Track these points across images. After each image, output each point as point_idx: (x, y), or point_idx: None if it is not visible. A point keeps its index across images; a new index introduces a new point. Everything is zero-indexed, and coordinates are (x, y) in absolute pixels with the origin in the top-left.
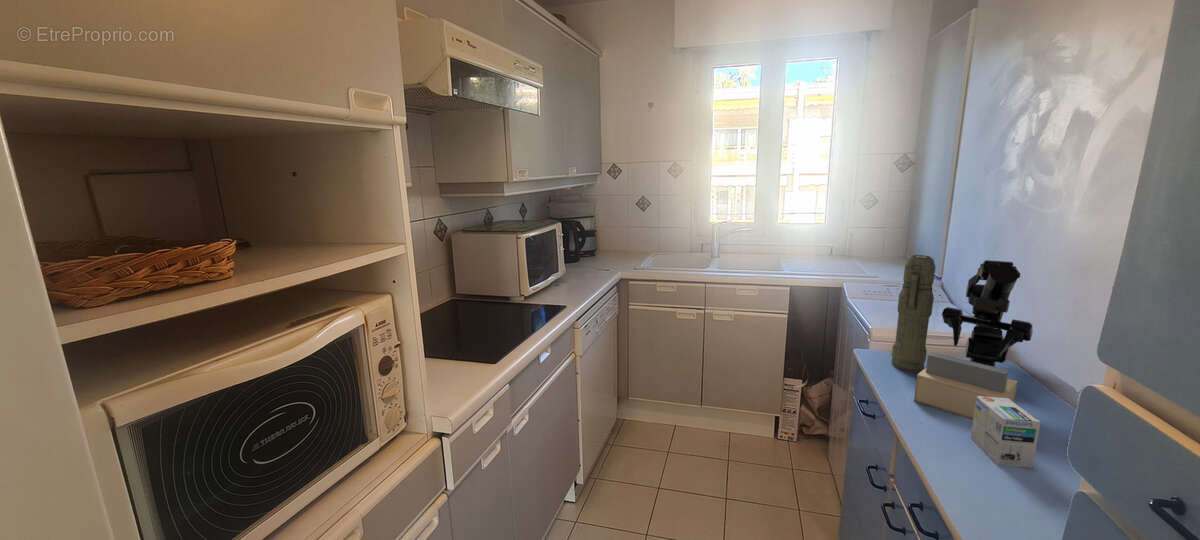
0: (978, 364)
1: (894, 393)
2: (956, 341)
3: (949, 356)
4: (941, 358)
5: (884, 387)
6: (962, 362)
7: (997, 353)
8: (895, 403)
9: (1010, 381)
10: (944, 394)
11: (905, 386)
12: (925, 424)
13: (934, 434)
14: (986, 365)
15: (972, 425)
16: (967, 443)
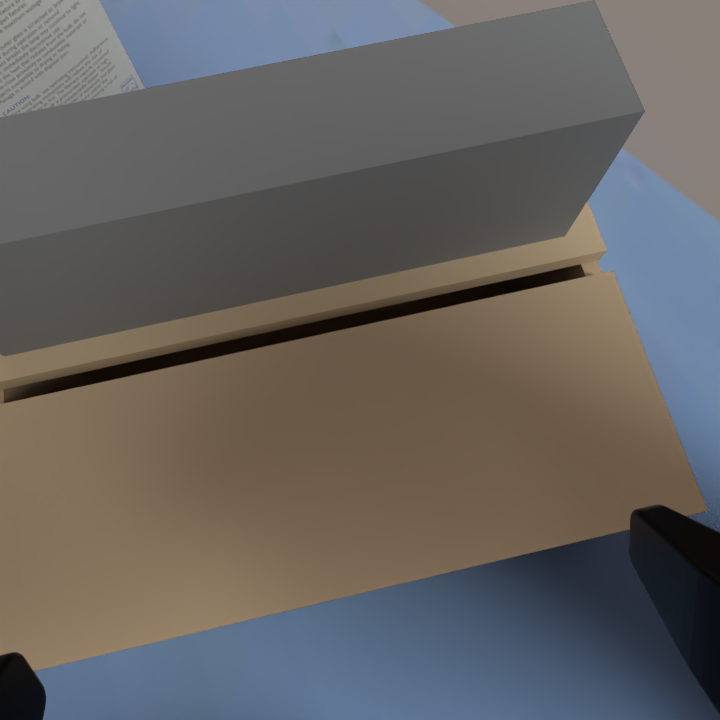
0: (134, 175)
1: (604, 202)
2: (675, 544)
3: (447, 141)
4: (460, 31)
5: (689, 224)
6: (267, 87)
7: (3, 660)
8: None
9: (22, 607)
10: None
11: (649, 347)
12: (316, 43)
13: (250, 2)
14: (62, 217)
15: (118, 38)
16: (137, 43)
